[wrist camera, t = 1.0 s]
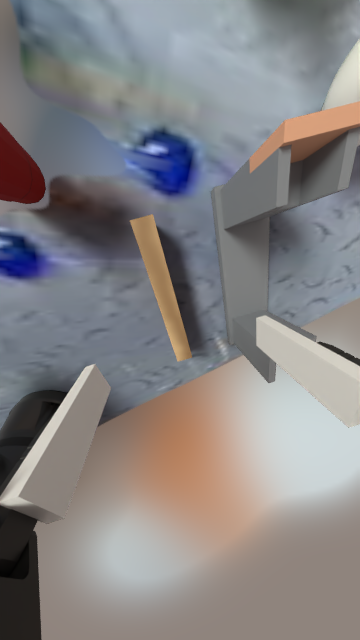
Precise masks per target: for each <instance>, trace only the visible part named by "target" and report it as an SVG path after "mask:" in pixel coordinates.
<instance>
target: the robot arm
mask: <svg viewBox="0 0 360 640" xmlns="http://www.w3.org/2000/svg"><path fill="white" fill-rule="evenodd" d="M256 345H257V346H258V347H259V348H260V349H261V350H262V351H263V352H264V353H265V354H267V355H268V356H269V357H270V358H271V359H272V360H273V361H274V362H276V363H277V364H278V365H279V366H280V367H281V368H282V369H284V370H285V371H286V372H287V373H288V374H289V375H290V376H291V377H292V378H293V379H295V380H296V381H297V382H298V383H299V384H300V385H301V386H302V387H304V388H305V389H306V390H307V391H308V392H309V393H310V394H311V395H312V396H314V397H315V398H316V399H317V400H318V401H319V402H320V403H321V404H322V405H324V406H325V407H326V408H327V409H328V410H329V411H330V412H332V413H333V414H334V415H335V416H336V417H337V418H338V419H339V420H340V421H342V422H343V423H344V424H345V425H346V426H347V427H348V428H349V427H352V426H355V425H358V424H360V359H358V358H355V357H354V356H352V355H350V354H348V353H345V352H344V351H342V350H340V349H338V348H336V347H334V346H332V345H329V344H326V343H322V342H318V343H316V342H314V341H312V340H310V339H308V338H307V337H305V336H303V335H301V334H299V333H297V332H295V331H294V330H292V329H290V328H288V327H286V326H284V325H282V324H281V323H279V322H277V321H275V320H273V319H271V318H269V317H268V316H266V315H264V316H261V317H258V318H256ZM110 390H111V387H110V386H109V384H108V383H107V381H106V380H105V378H104V377H103V375H102V374H101V372H100V371H99V369H98V368H97V366H96V365H95V364H94V365H91V366H87V367H85V368H84V370H83V371H82V373H81V375H80V376H79V378H78V379H77V381H76V382H75V384H74V385H73V387H72V388H71V390H70V391H69V393H68V394H66V393H63V392H58V391H38V392H34V393H31V394H28V395H26V396H25V397H23V398H22V399H21V400H20V401H19V402H18V403H17V404H16V405H15V406H14V407H13V409H12V410H11V411H10V413H9V416H8V418H7V419H6V421H5V423H4V425H3V427H2V428H1V430H0V640H41V621H40V597H39V574H38V551H37V535H36V532H35V531H33V529H34V527H35V525H36V523H37V521H41V522H43V523H45V524H49V523H52V522H55V521H58V520H61V519H64V518H65V516H66V513H67V510H68V507H69V504H70V501H71V499H72V496H73V493H74V491H75V488H76V485H77V482H78V479H79V477H80V474H81V471H82V468H83V465H84V463H85V460H86V457H87V454H88V451H89V449H90V446H91V443H92V440H93V437H94V435H95V432H96V429H97V426H98V423H99V421H100V418H101V415H102V412H103V409H104V406H105V404H106V401H107V398H108V395H109V392H110Z"/></svg>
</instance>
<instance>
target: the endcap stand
mask: <svg viewBox="0 0 360 640" xmlns="http://www.w3.org/2000/svg"><path fill="white" fill-rule="evenodd" d="M359 135H360V101H359V102H355V103H351V104H347V105H343V106H339V107H335V108H331V109H327V110H323V111H319V112H315V113H311V114H307V115H304V116H300V117H296V118H292V119H288V120H285V121H284V122H283V123H282V124H281V125H280V126H279V127H278V128H277V129H276V130H275V132H274V133H273V134H272V135H271V136H270V137H269V138H268V139H267V140H266V141H265V142H264V143H263V144H262V146H261V147H260V148H259V149H258V150H257V151H256V152H255V153H254V154H253V155H252V156H251V157H250V158H249V160H248V161H247V162H246V163H245V164H244V165H243V166H242V167H241V168H240V169H239V170H238V171H237V172H236V174H235V175H234V176H233V177H232V178H231V179H230V180H229V181H228V182H227V183H226V184H224V185H221V186H217V187H214V188H213V189H212V191H211V198H212V206H213V215H214V224H215V232H216V241H217V250H218V258H219V267H220V276H221V284H222V293H223V302H224V310H225V319H226V328H227V336H228V342H229V344H230V345H234V344H235V345H236V347H237V348H238V349H239V350H240V351H241V352H242V353H243V354H244V356H245V357H246V358H247V359H248V360H249V361H250V362H251V364H252V365H253V366H254V367H255V368H256V369H257V370H258V372H260V374H261V375H262V376H263V377H264V378H265V380H266V381H267V382H268V383H271V382H274V381H275V372H276V362H274V361H273V360H272V359H271V358H270V357H269V356H268V355H267V354H265V353H264V352H263V351H262V350H261V349H260V348H259V347H258V346H257V345H256V318H258V317H261V316H264V315H266V316H268V317H269V318H271V319H273V320H275V321H277V322H279V323H281V324H282V325H284V326H286V327H288V328H290V329H292V330H294V331H295V332H297V333H299V334H301V335H303V336H305V337H307V338H308V339H310V340H312V341H314V342H316V336H315V335H313V334H311V333H309V332H307V331H305V330H303V329H301V328H299V327H297V326H295V325H293V324H291V323H289V322H287V321H285V320H283V319H281V318H279V317H277V316H275V315H273V314H271V313H269V312H267V299H268V263H269V227H270V216H272V215H275V214H278V213H281V212H284V211H286V210H289V209H292V208H295V207H297V206H300V205H303V204H306V203H308V202H311V201H314V200H317V199H319V198H322V197H325V196H328V195H330V194H333V193H336V192H339V191H341V190H344V189H347V188H348V186H349V182H350V177H351V172H352V168H353V163H354V158H355V154H356V149H357V144H358V139H359Z"/></svg>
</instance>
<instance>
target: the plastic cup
mask: <svg viewBox="0 0 360 640" xmlns="http://www.w3.org/2000/svg"><path fill="white" fill-rule="evenodd" d="M45 190H46V187H45V180H44V177H43V175H42V173H41V170H40V168H39V167H38V166H37V164H36V163H35V161H34V160H33V159H32V158H31V157H30V155H29V154H28V153H27V152H26V151H25V150H24V149H23V148H22V147H21V146H20V145H19V143H17V141H16V140H15V139H14V137H13V136H12V135H11V134H10V133H9V132H8V131H7V129H6V128H5V127H4V126H3V125H2V124H1V123H0V200H5V201H10V202H11V201H15V202H20V203H25V204H31V203H36V202H39V201H40V200H41V199H42V198H43V196H44V193H45Z"/></svg>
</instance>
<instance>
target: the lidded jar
mask: <svg viewBox="0 0 360 640" xmlns="http://www.w3.org/2000/svg"><path fill="white" fill-rule="evenodd" d="M359 101H360V39H359V40H358V41H357V43H356V44H355V45H354V47H353V48H352V50H351V51H350V53H349V54H348V55H347V57H346V58H345V60H344V62H343V63H342V65H341V67H340V68H339V70H338V72H337V74H336V76H335V78H334V80H333V82H332V84H331V86H330V88H329V91H328V93H327V96H326V99H325V102H324V104H323V106H322V109H321V111H323V110H327V109H331V108H335V107H339V106H343V105H347V104H351V103H355V102H359ZM357 146H360V135H359V139H358V144H357Z"/></svg>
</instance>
